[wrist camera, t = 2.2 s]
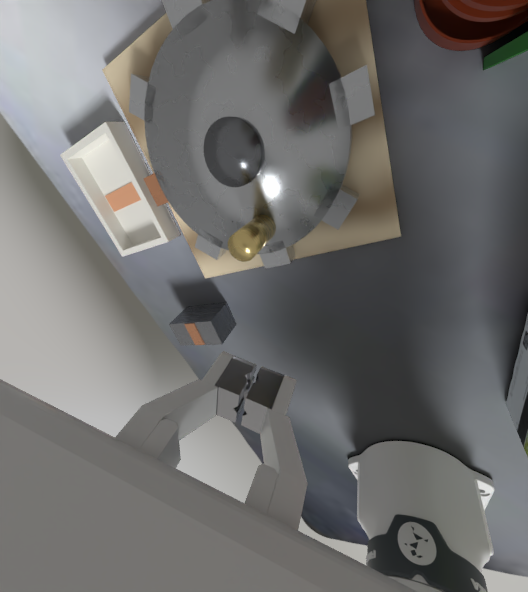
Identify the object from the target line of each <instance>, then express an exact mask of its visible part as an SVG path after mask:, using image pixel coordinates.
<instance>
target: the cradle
mask: <svg viewBox="0 0 528 592" xmlns="http://www.w3.org/2000/svg"><path fill="white" fill-rule="evenodd" d="M60 156H61V157H62V159H63V161H64V162H65V164H66V165H67V167H68V169H69V170H70V172H71V174H72V175H73V177H74V179H75V180H76V182H77V183H78V185H79V187H80V188H81V190H82V192H83V193H84V195H85V196H86V198H87V200H88V201H89V203H90V205H91V206H92V208H93V209H94V211H95V213H96V214H97V216H98V218H99V219H100V221H101V222H102V224H103V226H104V227H105V229H106V231H107V232H108V234H109V236H110V237H111V239H112V240H113V242H114V244H115V245H116V247H117V249H118V250H119V252H120V253H121V255H122V257H123V256H126V255H129V254H132V253H135V252H138V251H141V250H145V249H148V248H151V247H154V246H157V245H160V244H163V243H166V242H169V241H171V240H172V239H174V238H176V237H178V236H180V235H181V234H180V232H179V230H178V228H177V226H176V224H175V222H174V220H173V218H172V216H171V214H170V212H169V210H168V208H167V206H166V204H163V205H160V206H157V205H156V203H155V201H154V199H153V197H152V195H151V193H150V191H149V189H148V187H147V185H146V183H145V181H144V178H146V177H148V176H150V175H151V174H150V172H149V170H148V168H147V166H146V164H145V162H144V160H143V158H142V156H141V154H140V152H139V150H138V148H137V146H136V144H135V142H134V140H133V138H132V136H131V134H130V132H129V130H128V128H127V126H126V124H125V122H104V123H103V124H102V125H100V126H99V127H98V128H96V129H95V130H93V131H92V132H91V133H89V134H88V135H87V136H85V137H84V138H83V139H81V140H80V141H78V142H77V143H76V144H74V145H73V146H72V147H70V148H69V149H67V150H66V151H65V152H63V153H62V154H61V155H60Z"/></svg>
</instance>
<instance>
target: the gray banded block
mask: <svg viewBox="0 0 528 592" xmlns="http://www.w3.org/2000/svg"><path fill="white" fill-rule="evenodd" d="M169 325H170V327H171V329H172V331H173V333H174V334H175V336H176V338H177V340H178V341H179V343H180V345H217V344H223V342H224V341H225V340H226V338H227V337H228V335H229V334H230V333H231V331H232V330H233V328H234V327H235V325H236V322H235V320H234V318H233V316H232V313H231V311H230V309H229V306H228V304H227V303H218V304H209V305H200V306H191V307H187V308H185V309H184V310H183V311H182V312H181V313H180V314H179V315H178V316H177V317H176V318H175V319H174V320H173V321H172V322H171V323H170V324H169Z"/></svg>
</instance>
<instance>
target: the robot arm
mask: <svg viewBox="0 0 528 592" xmlns="http://www.w3.org/2000/svg"><path fill="white" fill-rule="evenodd" d="M256 366H257V365H255V364H253V363H251V362H248V361H246V360H244V359H241V358H239V357H236V356H234V355H231V354H229V353H227V352H224V351H223V352H222V353H221V354H220V355H219V356H218V358H217V359H216V361H215V362H214V364H213V365H212V366H211V368H210V369H209V371H208V372H207V374H206V375H205V377H204V378H203V379H202V380H200V379H198V380H196V381H194V382H191V383H189V384H187V385H185V386H183V387H181V388H179V389H176V390H174V391H172V392H170V393H168V394H166V395H164V396H162V397H159V398H157V399H155V400H153V401H151V402H149V403H147V404H144V405H142V406H141V408H140V409H139V410H138V411H137V412H136V413H135V415H134V416H133V417H132V418H131V419H130V421H129V422H128V423H127V424H126V426H124V428H123V429H122V430H121V431H120V432H119V434H118V435H117V436H116V437H113V436H111V435H109V434H107V433H105V432H103V431H101V430H99V429H97V428H95V427H93V426H91V425H89V424H87V423H85V422H83V421H81V420H79V419H77V418H75V417H73V416H71V415H69V414H67V413H65V412H64V411H62V410H59V409H58V408H56V407H54V406H52V405H50V404H48V403H46V402H44V401H41V400H40V399H38V398H36V397H34V396H32V395H30V394H28V393H26V392H24V391H22V390H20V389H18V388H16V387H14V386H12V385H10V384H8V383H6V382H4V381H3V380H1V379H0V592H487V587H486V583H485V579H484V576H483V575H482V574H481V571H482V568H483V566H484V565H485V563H487V562H488V561H489V559H490V556H491V555H493V547H492V542H491V538H490V534H489V529H488V525H487V521H486V516H485V512H484V510H485V508H486V506H487V504H488V502H489V500H490V498H491V496H492V494H493V492H494V484H493V481H492V480H491V479H490V478H488V477H486V476H484V475H482V474H480V473H478V472H475V471H473V470H471V469H469V468H468V467H466V466H465V465H464V464H463V463H461V462H460V461H459V460H458V459H456V458H455V457H453V456H451V455H449V454H448V453H446V452H443V451H441V450H439V449H436V448H433V447H430V446H427V445H423V444H419V443H414V442H406V441H387V442H381V443H377V444H374V445H372V446H370V447H368V448H367V449H366V450H365V451H364V452H363V453H362V454H361V455H358V456H354V457H351V458H349V459H348V466H349V468H350V470H351V471H352V473H353V474H354V476H355V477H356V479H357V480H358V491H357V518H358V522H359V523H360V524H361V526H362V528H363V529H364V531H365V532H366V534H367V535H368V538H369V541H368V554H367V560H366V561H367V562H366V564H367V566H366V565H364V564H362V563H360V562H358V561H356V560H354V559H352V558H350V557H348V556H346V555H344V554H343V553H341V552H339V551H337V550H335V549H332V548H331V547H329V546H327V545H325V544H323V543H321V542H319V541H317V540H315V539H313V538H311V537H309V536H307V535H305V534H303V533H301V532H299V531H298V528H299V523H300V518H301V513H302V508H303V503H304V498H305V493H306V488H307V480H306V476H305V473H304V469H303V466H302V462H301V458H300V455H299V451H298V448H297V444H296V440H295V437H294V433H293V429H292V426H291V422H290V419H289V417H287V416H286V413H287V410H288V407H289V403H290V400H291V397H292V394H293V391H294V388H295V385H296V381H297V380H296V379H293V378H290V377H288V376H284V375H283V374H281V373H278V372H275V371H273V370H270V369H267V368H265V367H261V368H260V370H259V372H258V374H257V378H256V382H255V383H253V382H254V376H253V375H254V373H255V371H256ZM244 400H245V405H244V410H245V412H244V414H243V417H242V423H241V425H242V426H244V427H246V428H248V429H251V430H253V431H255V432H257V433H259V434H261V435H260V437H261V444H262V452H263V459H264V464H261V465H259V466H258V469H257V471H256V474H255V477H254V479H253V482H252V485H251V487H250V490H249V493H248V495H247V498H246V501H245V504H244V503H242V502H240V501H238V500H236V499H234V498H233V497H231V496H229V495H226V494H225V493H223V492H221V491H219V490H217V489H215V488H213V487H211V486H209V485H207V484H205V483H203V482H201V481H199V480H197V479H195V478H193V477H191V476H189V475H187V474H185V473H183V472H181V471H179V470H177V469H176V467H177V465H178V463H179V461H180V460H181V459H180V448H179V440H181V439H182V438H184V437H185V436H187V435H188V434H190V433H191V432H193V431H194V430H196V429H197V428H198V427H200V426H202V425H203V424H204V423H206V422H207V421H209V420H210V419H212V418H213V417H215V416H216V415H219V416H221V417H223V418H226V419H228V420H231V421H233V422H236V420H237V418H238V416H239V414H240V412H241V410H242V408H243V402H244Z"/></svg>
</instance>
